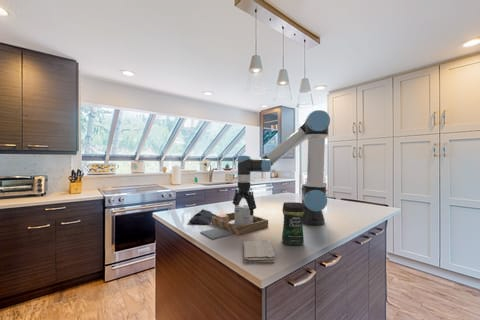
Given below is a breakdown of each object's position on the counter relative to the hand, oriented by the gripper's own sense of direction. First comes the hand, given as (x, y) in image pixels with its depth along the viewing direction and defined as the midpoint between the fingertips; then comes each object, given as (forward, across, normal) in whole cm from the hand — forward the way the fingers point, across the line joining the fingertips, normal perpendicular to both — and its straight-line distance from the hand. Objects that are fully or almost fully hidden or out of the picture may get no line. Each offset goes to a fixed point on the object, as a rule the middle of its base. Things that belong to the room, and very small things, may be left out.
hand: (243, 218), depth 128 cm
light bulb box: (+4, 0, 0) cm, 4 cm away
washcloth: (+4, +34, -20) cm, 40 cm away
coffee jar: (+4, +36, 0) cm, 36 cm away
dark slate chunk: (+4, -24, -14) cm, 28 cm away
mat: (+3, +4, -22) cm, 22 cm away
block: (+3, -8, -10) cm, 13 cm away
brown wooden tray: (+3, 0, -4) cm, 5 cm away
